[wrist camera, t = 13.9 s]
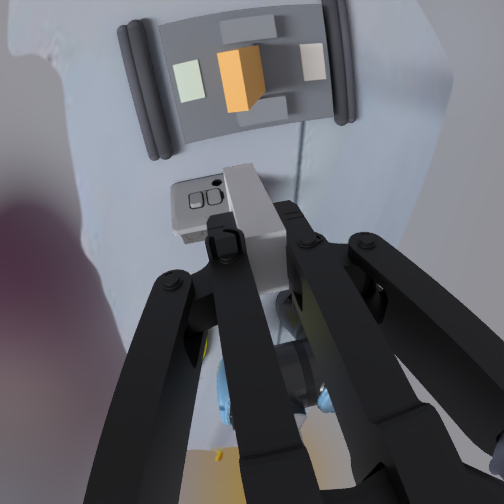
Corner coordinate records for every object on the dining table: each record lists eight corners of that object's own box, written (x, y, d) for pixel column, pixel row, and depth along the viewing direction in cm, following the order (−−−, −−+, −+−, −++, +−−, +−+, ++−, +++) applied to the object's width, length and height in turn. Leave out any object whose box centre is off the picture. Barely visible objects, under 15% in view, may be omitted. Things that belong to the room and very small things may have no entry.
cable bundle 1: (174, 154, 43) (174, 159, 41) (151, 161, 42) (150, 165, 41) (142, 18, 31) (140, 17, 29) (116, 26, 30) (113, 25, 29)
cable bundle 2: (353, 122, 44) (359, 125, 42) (332, 124, 44) (338, 127, 42) (340, -6, 32) (347, -8, 30) (318, -7, 32) (323, -9, 30)
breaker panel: (325, 112, 43) (341, 121, 38) (185, 138, 42) (185, 149, 37) (313, 6, 33) (328, 2, 29) (160, 27, 32) (156, 24, 28)
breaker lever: (267, 92, 36) (249, 113, 28) (251, 94, 37) (228, 115, 29) (259, 42, 32) (237, 46, 24) (242, 44, 33) (216, 50, 25)
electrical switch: (233, 170, 46) (244, 205, 39) (238, 200, 49) (248, 238, 42) (169, 183, 45) (168, 220, 38) (177, 212, 49) (178, 252, 42)
